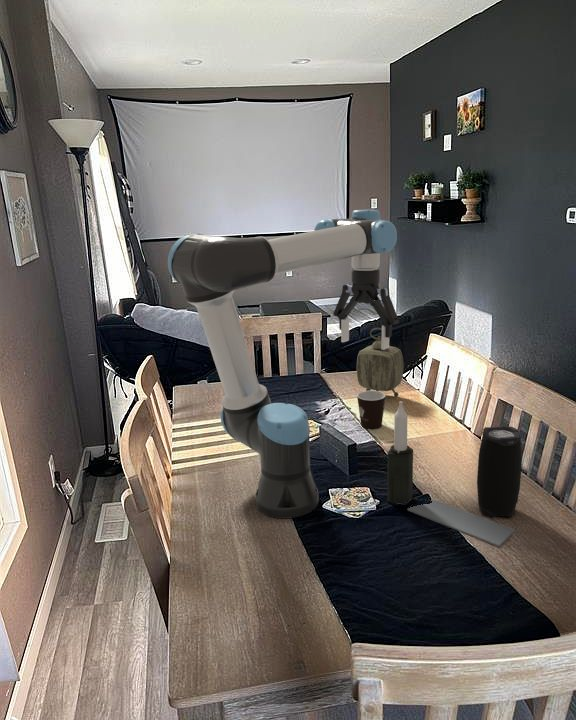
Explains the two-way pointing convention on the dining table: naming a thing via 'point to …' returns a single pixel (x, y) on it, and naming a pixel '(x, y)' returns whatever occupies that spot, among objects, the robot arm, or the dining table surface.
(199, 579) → the dining table surface
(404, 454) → the candle
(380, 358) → the tabletop clock
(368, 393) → the coffee mug
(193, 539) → the dining table surface
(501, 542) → the candle mat
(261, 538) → the dining table surface
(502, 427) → the portable speaker
